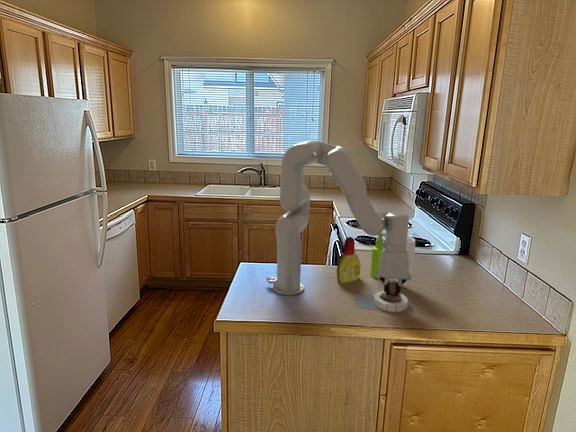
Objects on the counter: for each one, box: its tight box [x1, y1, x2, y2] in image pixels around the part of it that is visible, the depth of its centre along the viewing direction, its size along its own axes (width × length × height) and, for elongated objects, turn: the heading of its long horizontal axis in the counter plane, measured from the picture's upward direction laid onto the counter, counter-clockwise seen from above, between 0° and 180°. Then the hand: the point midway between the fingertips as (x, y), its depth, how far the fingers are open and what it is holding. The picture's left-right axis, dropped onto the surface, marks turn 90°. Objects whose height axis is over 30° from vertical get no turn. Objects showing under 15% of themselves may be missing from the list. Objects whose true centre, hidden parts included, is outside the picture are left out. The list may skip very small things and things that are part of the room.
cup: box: [391, 235, 416, 285], centre depth 162 cm, size 10×10×22 cm
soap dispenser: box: [369, 232, 386, 280], centre depth 174 cm, size 6×7×20 cm
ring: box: [373, 290, 409, 313], centre depth 149 cm, size 12×12×2 cm
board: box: [354, 293, 412, 315], centre depth 150 cm, size 20×12×1 cm, turn 79°
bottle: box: [336, 236, 361, 284], centre depth 168 cm, size 12×6×20 cm, turn 123°
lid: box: [383, 279, 402, 301], centre depth 148 cm, size 6×6×6 cm
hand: (391, 293), depth 148 cm, fingers closed on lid, 3 cm apart
